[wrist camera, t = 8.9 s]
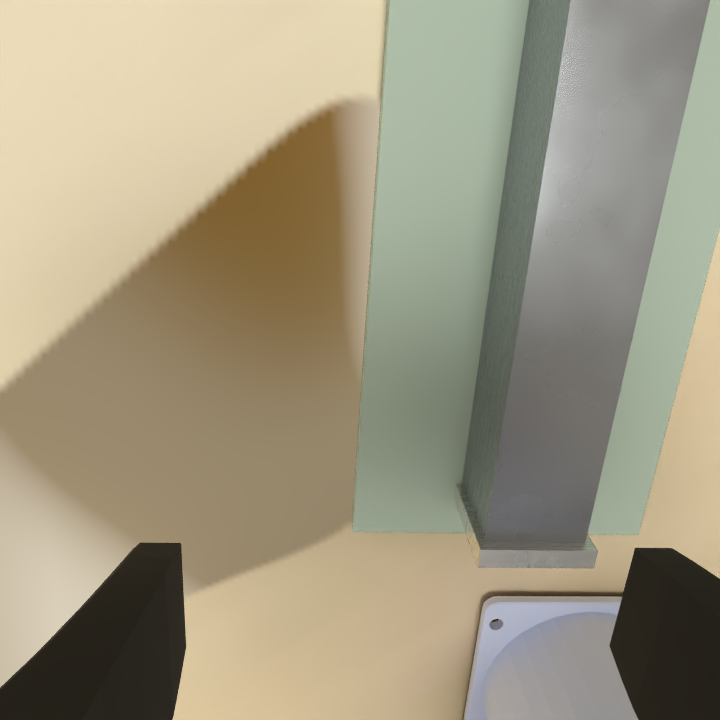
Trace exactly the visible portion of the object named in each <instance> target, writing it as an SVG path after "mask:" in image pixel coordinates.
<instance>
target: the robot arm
mask: <svg viewBox="0 0 720 720" xmlns="http://www.w3.org/2000/svg"><path fill="white" fill-rule="evenodd" d="M494 619H499V620H497V621H496V622H491V621H492V620H494ZM185 650H186V637H185V616H184V595H183V575H182V554H181V543H139V544H138V545H137V546H136V547H135V548H134V549H133V550H132V551H131V552H130V553H129V554H128V555H127V556H126V557H125V559H124V560H123V561H122V562H121V563H120V565H119V566H118V567H117V568H116V569H115V570H114V571H113V572H112V573H111V575H110V576H109V577H108V578H107V579H106V580H105V581H104V582H103V583H102V585H101V586H100V587H99V588H98V589H97V590H96V591H95V592H94V594H93V595H92V596H91V597H90V598H89V599H88V600H87V601H86V602H85V603H84V604H83V605H82V607H81V608H80V609H79V610H78V611H77V612H76V613H75V614H74V615H73V616H72V617H71V618H70V619H69V620H68V621H67V622H66V623H65V624H64V625H63V626H62V627H61V629H59V630H58V632H57V633H56V634H55V635H54V636H53V637H52V638H51V639H50V640H49V641H48V642H47V643H46V644H45V645H44V646H43V647H42V648H41V649H40V650H39V651H38V652H37V653H36V654H35V655H34V656H33V657H32V658H31V659H30V660H29V661H28V662H27V663H26V664H25V665H24V666H23V667H21V668H20V669H19V670H18V671H17V672H16V673H15V674H14V675H13V676H12V677H11V678H10V679H9V680H8V681H7V682H6V683H5V684H4V685H3V686H1V688H0V720H172V719H173V715H174V710H175V705H176V700H177V694H178V689H179V684H180V678H181V672H182V667H183V661H184V655H185ZM464 720H720V579H719V578H717V577H716V576H714V575H713V574H711V573H710V572H709V571H707V570H706V569H704V568H702V567H701V566H699V565H698V564H696V563H695V562H693V561H692V560H690V559H689V558H687V557H685V556H684V555H682V554H680V553H679V552H677V551H675V550H674V549H672V548H635V551H634V555H633V558H632V562H631V566H630V570H629V573H628V577H627V581H626V585H625V588H624V592H623V596H622V597H618V596H494V597H491V598H489V599H487V600H486V601H485V602H484V604H483V606H482V612H481V618H480V624H479V630H478V636H477V642H476V648H475V654H474V660H473V666H472V672H471V678H470V684H469V690H468V696H467V702H466V708H465V714H464Z"/></svg>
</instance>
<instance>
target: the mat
mask: <svg viewBox="0 0 720 720" xmlns="http://www.w3.org/2000/svg"><path fill="white" fill-rule="evenodd" d="M528 5H529V0H388V4H387V19H386V33H385V48H384V62H383V77H382V92H381V106H380V121H379V135H378V150H377V165H376V179H375V194H374V208H373V223H372V239H371V253H370V268H369V281H368V296H367V311H366V326H365V339H364V354H363V368H362V383H361V397H360V398H361V399H360V412H359V426H358V442H357V456H356V470H355V471H356V472H355V485H354V499H353V514H352V527H353V532H413V533H466V532H465V530H464V527H463V524H462V521H461V518H460V516H459V513H458V510H457V507H456V504H455V501H454V493H455V486H456V484H462V478H463V471H464V464H465V457H466V450H467V442H468V435H469V428H470V421H471V414H472V407H473V399H474V392H475V385H476V378H477V371H478V364H479V356H480V349H481V342H482V335H483V328H484V321H485V313H486V306H487V299H488V292H489V285H490V278H491V270H492V263H493V256H494V249H495V242H496V235H497V227H498V220H499V213H500V206H501V199H502V192H503V184H504V177H505V170H506V163H507V156H508V149H509V141H510V134H511V127H512V120H513V113H514V105H515V98H516V91H517V84H518V77H519V70H520V62H521V55H522V48H523V41H524V34H525V27H526V19H527V12H528ZM719 229H720V0H710V4H709V8H708V13H707V17H706V21H705V26H704V30H703V34H702V39H701V43H700V47H699V52H698V56H697V60H696V65H695V69H694V73H693V78H692V82H691V86H690V91H689V95H688V100H687V104H686V108H685V113H684V117H683V121H682V126H681V130H680V134H679V139H678V143H677V147H676V152H675V156H674V160H673V165H672V169H671V173H670V178H669V182H668V186H667V191H666V195H665V199H664V204H663V208H662V212H661V217H660V221H659V225H658V230H657V234H656V238H655V243H654V247H653V252H652V256H651V260H650V265H649V269H648V273H647V278H646V282H645V286H644V291H643V295H642V299H641V304H640V308H639V312H638V317H637V321H636V325H635V330H634V334H633V338H632V343H631V347H630V351H629V356H628V360H627V364H626V369H625V373H624V377H623V382H622V386H621V391H620V395H619V399H618V404H617V408H616V412H615V417H614V421H613V425H612V430H611V434H610V438H609V443H608V447H607V451H606V456H605V460H604V464H603V469H602V473H601V477H600V482H599V486H598V490H597V495H596V499H595V503H594V508H593V512H592V516H591V521H590V525H589V529H588V534H587V535H638V534H639V530H640V527H641V523H642V519H643V515H644V511H645V508H646V504H647V500H648V496H649V493H650V489H651V485H652V481H653V478H654V474H655V470H656V466H657V462H658V459H659V455H660V451H661V447H662V444H663V440H664V436H665V432H666V428H667V425H668V421H669V417H670V413H671V410H672V406H673V402H674V398H675V395H676V391H677V387H678V383H679V379H680V376H681V372H682V368H683V364H684V361H685V357H686V353H687V349H688V346H689V342H690V338H691V334H692V330H693V327H694V323H695V319H696V315H697V312H698V308H699V304H700V300H701V296H702V293H703V289H704V285H705V281H706V278H707V274H708V270H709V266H710V263H711V259H712V255H713V251H714V247H715V244H716V240H717V236H718V232H719Z"/></svg>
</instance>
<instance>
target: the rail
mask: <svg viewBox="0 0 720 720" xmlns="http://www.w3.org/2000/svg"><path fill="white" fill-rule="evenodd" d="M709 4H710V0H529V5H528V12H527V19H526V27H525V34H524V41H523V48H522V55H521V62H520V70H519V77H518V84H517V91H516V98H515V105H514V113H513V120H512V127H511V134H510V141H509V149H508V156H507V163H506V170H505V177H504V184H503V192H502V199H501V206H500V213H499V220H498V227H497V235H496V242H495V249H494V256H493V263H492V270H491V278H490V285H489V292H488V299H487V306H486V313H485V321H484V328H483V335H482V342H481V349H480V356H479V364H478V371H477V378H476V385H475V392H474V399H473V407H472V414H471V421H470V428H469V435H468V442H467V450H466V457H465V464H464V471H463V478H462V484H456V486H455V493H454V501H455V504H456V507H457V510H458V513H459V516H460V518H461V521H462V524H463V527H464V530H465V532H466V535H467V538H468V541H469V544H470V547H471V549H472V552H473V555H474V558H475V561H476V563H477V566H478V567H498V568H594V565H595V561H596V557H597V553H598V550H597V549H596V547H595V546H594V544H593V543H592V541H591V539H590V538H589V536H588V535H587V534H588V529H589V525H590V521H591V516H592V512H593V508H594V503H595V499H596V495H597V490H598V486H599V482H600V477H601V473H602V469H603V464H604V460H605V456H606V451H607V447H608V443H609V438H610V434H611V430H612V425H613V421H614V417H615V412H616V408H617V404H618V399H619V395H620V391H621V386H622V382H623V377H624V373H625V369H626V364H627V360H628V356H629V351H630V347H631V343H632V338H633V334H634V330H635V325H636V321H637V317H638V312H639V308H640V304H641V299H642V295H643V291H644V286H645V282H646V278H647V273H648V269H649V265H650V260H651V256H652V252H653V247H654V243H655V238H656V234H657V230H658V225H659V221H660V217H661V212H662V208H663V204H664V199H665V195H666V191H667V186H668V182H669V178H670V173H671V169H672V165H673V160H674V156H675V152H676V147H677V143H678V139H679V134H680V130H681V126H682V121H683V117H684V113H685V108H686V104H687V100H688V95H689V91H690V86H691V82H692V78H693V73H694V69H695V65H696V60H697V56H698V52H699V47H700V43H701V39H702V34H703V30H704V26H705V21H706V17H707V13H708V8H709Z"/></svg>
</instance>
